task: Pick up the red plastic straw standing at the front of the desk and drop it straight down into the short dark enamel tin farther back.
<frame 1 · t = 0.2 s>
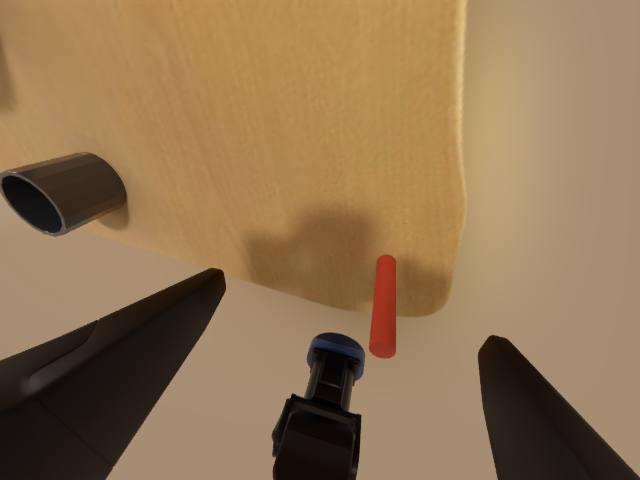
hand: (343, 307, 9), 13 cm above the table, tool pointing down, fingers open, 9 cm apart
tin: (99, 181, 26), on the table
straw: (386, 262, 23), on the table
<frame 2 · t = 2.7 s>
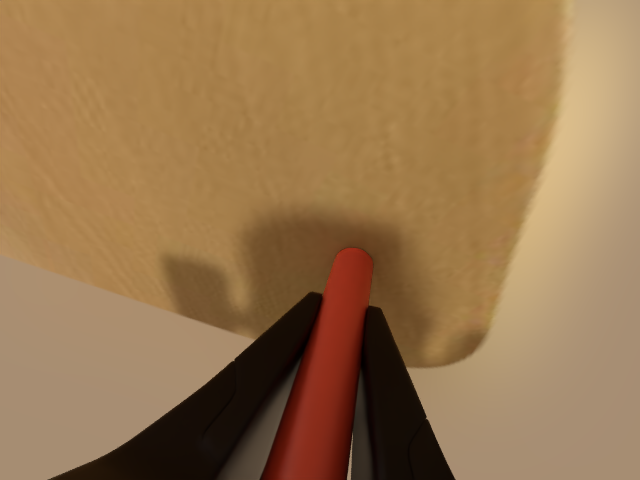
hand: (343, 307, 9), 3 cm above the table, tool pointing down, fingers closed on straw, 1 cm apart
straw: (353, 263, 11), on the table, touching gripper
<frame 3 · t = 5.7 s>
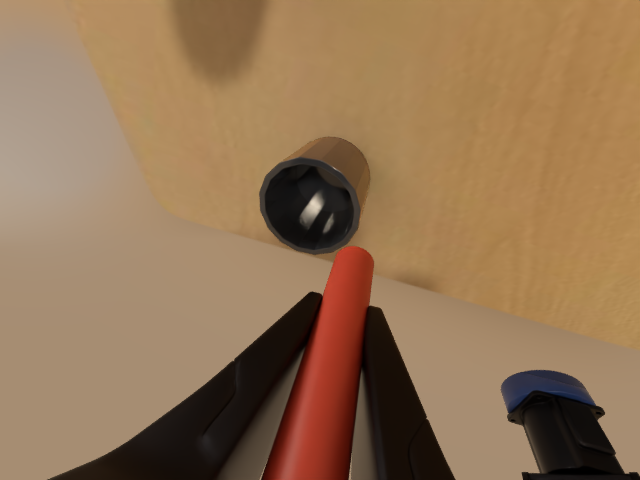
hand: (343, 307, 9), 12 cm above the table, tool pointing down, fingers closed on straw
tin: (330, 177, 19), on the table
straw: (354, 261, 11), point 10 cm above the table, touching gripper
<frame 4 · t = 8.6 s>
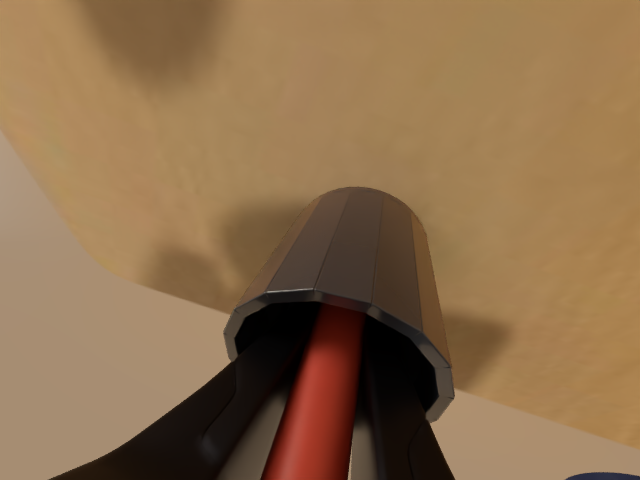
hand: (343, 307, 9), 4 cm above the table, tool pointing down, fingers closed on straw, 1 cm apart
tin: (356, 248, 12), on the table
straw: (353, 261, 11), point 1 cm above the table, touching gripper
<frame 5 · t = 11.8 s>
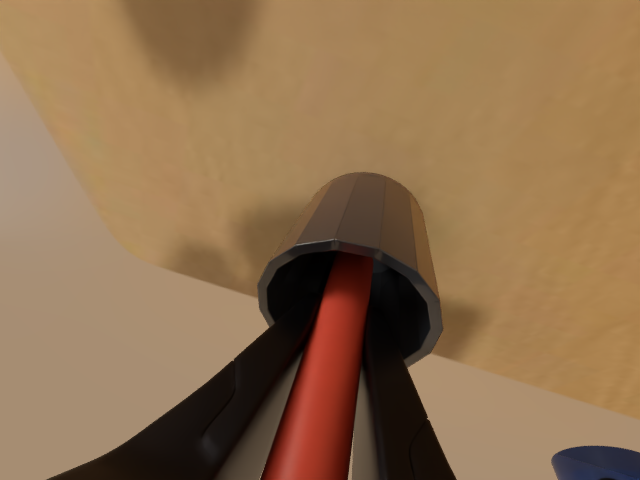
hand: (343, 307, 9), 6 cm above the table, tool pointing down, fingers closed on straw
tin: (362, 228, 13), on the table
straw: (354, 261, 11), point 3 cm above the table, touching gripper
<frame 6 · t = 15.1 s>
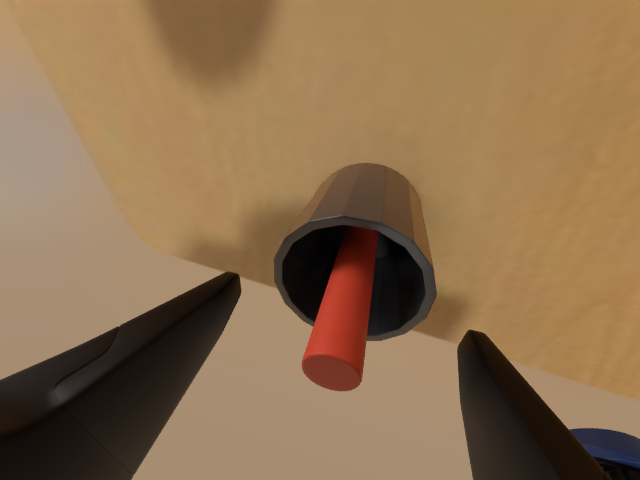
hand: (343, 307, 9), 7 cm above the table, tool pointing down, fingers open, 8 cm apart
tin: (364, 215, 14), on the table
straw: (365, 217, 14), resting on tin
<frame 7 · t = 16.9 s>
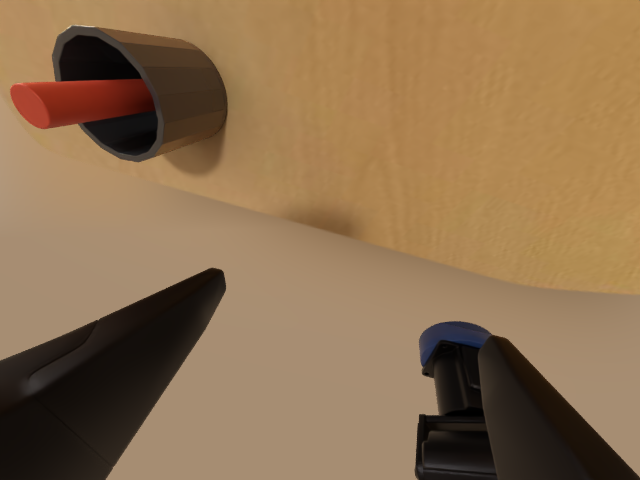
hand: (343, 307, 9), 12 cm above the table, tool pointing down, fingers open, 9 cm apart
tin: (187, 93, 18), on the table
straw: (184, 91, 17), resting on tin
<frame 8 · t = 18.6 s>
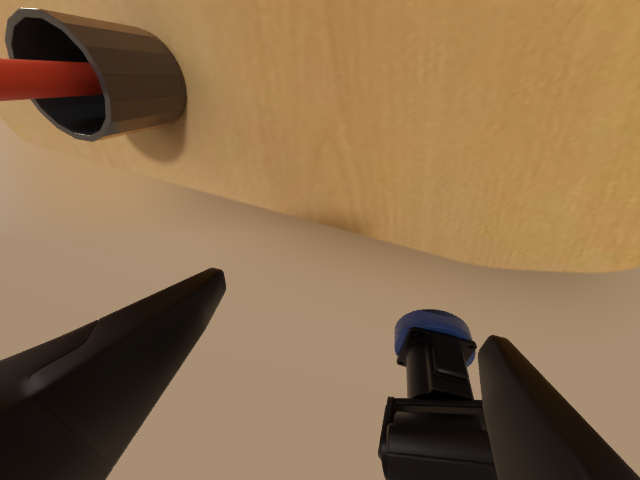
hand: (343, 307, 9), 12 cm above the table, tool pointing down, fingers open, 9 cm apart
tin: (149, 80, 18), on the table
straw: (144, 78, 18), resting on tin
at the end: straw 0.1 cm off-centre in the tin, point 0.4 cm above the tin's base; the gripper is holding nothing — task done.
